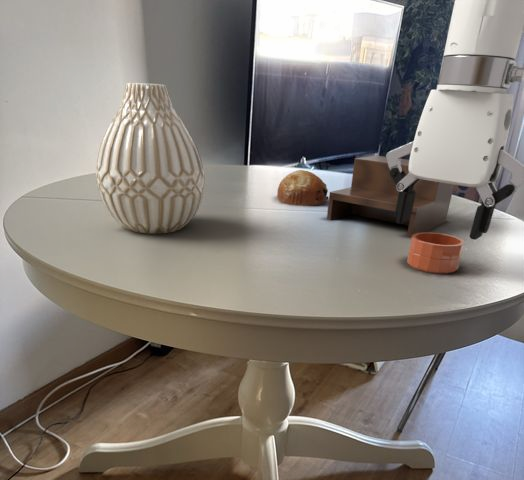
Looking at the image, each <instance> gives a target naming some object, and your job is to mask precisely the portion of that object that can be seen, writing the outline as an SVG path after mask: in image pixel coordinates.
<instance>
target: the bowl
mask: <svg viewBox="0 0 524 480" xmlns="http://www.w3.org/2000/svg"><path fill="white" fill-rule="evenodd" d="M465 245H466V243H465V240H464V239H462V238H460V237H458V236H455V235H451V234H446V233H441V232H434V231H433V232H432V231H431V232H430V231H425V232H420V233H415V234H413V235H412V238H410V244H409V248H408V249H409V250H408V252H407V253H408V254H407V259H406V263H407V264H408V266H410V267H411V268H413V269H415V270H418V271H420V272H423V273H429V274H436V275H437V274H438V275H446V274H447V275H448V274H452V273H454V272H456V271H458V270H459V267H460V264H461V259H462V256H463V252H464V248H465Z"/></svg>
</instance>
